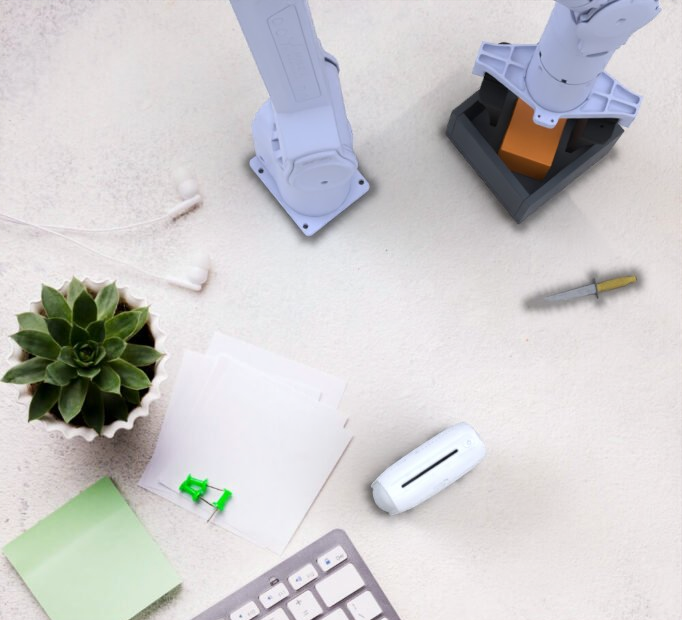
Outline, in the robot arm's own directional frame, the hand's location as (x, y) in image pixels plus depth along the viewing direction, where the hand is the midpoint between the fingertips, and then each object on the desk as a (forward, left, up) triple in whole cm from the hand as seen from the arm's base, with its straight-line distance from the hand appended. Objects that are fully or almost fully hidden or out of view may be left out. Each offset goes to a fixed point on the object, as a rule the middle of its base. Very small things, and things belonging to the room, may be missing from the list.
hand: (533, 129), depth 82 cm
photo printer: (+19, -29, -3) cm, 35 cm away
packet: (0, 0, -2) cm, 2 cm away
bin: (0, 0, -3) cm, 3 cm away
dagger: (+15, -5, -3) cm, 16 cm away
